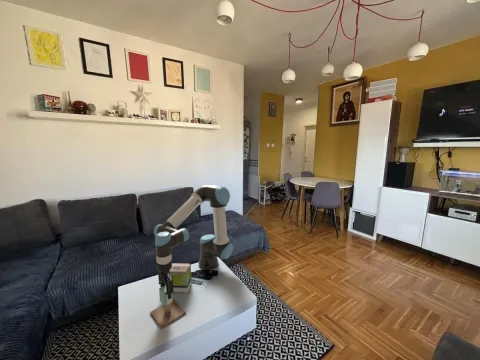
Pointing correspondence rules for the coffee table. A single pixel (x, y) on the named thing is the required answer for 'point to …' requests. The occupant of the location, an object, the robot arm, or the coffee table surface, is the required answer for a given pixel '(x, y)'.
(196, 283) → the coffee table surface
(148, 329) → the coffee table surface
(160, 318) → the board
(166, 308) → the post
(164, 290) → the pale green upright block
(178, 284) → the tea box
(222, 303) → the coffee table surface
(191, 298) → the coffee table surface
